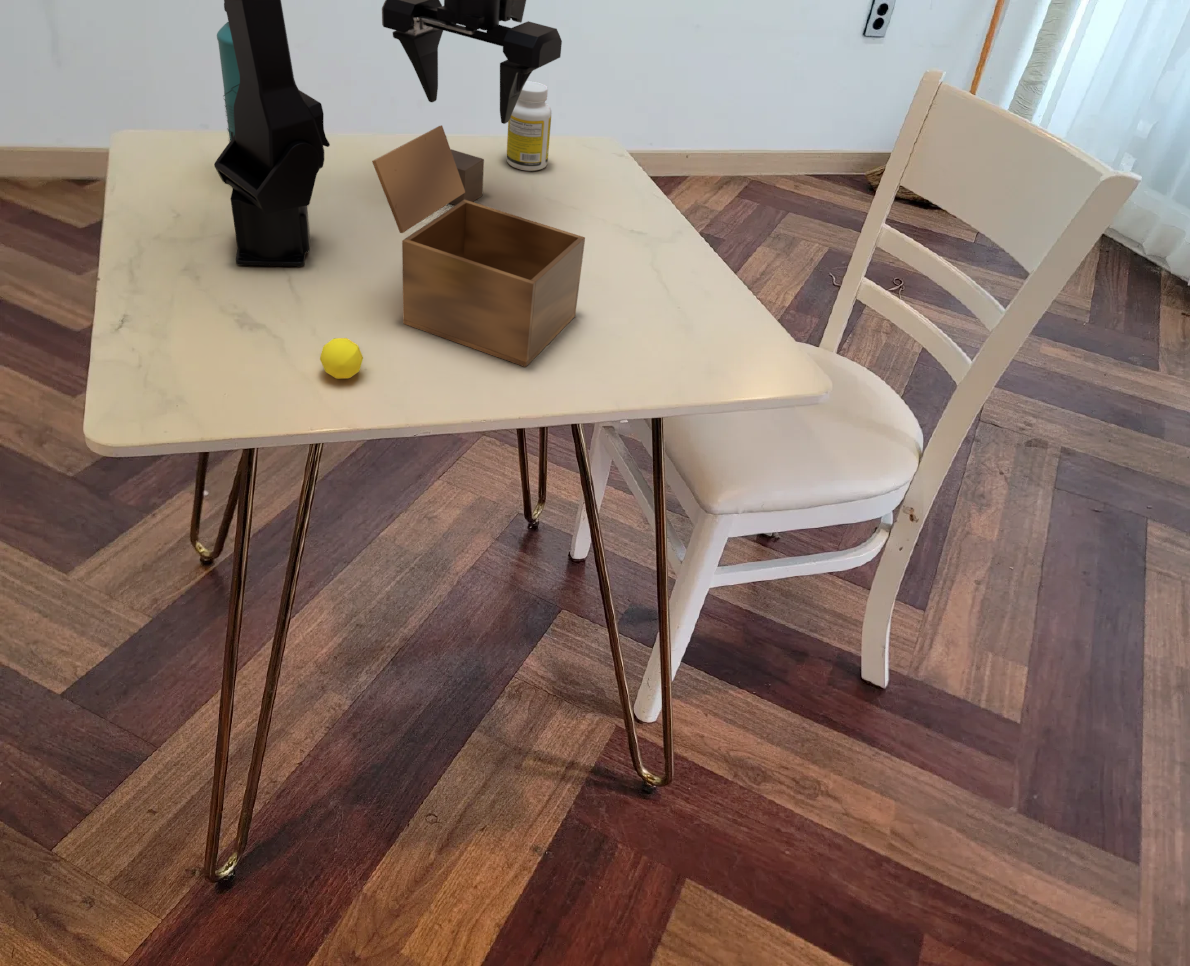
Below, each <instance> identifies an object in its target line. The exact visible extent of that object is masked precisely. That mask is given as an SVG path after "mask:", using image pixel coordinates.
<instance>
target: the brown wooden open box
mask: <svg viewBox="0 0 1190 966" xmlns="http://www.w3.org/2000/svg"><path fill="white" fill-rule="evenodd" d="M585 243H586V237H585V236H583V235H580V234H575V233H573V232H570V231H566V230H564V229H560V228H557V227H553V226H550V225H547V224H544V223H540V222H537V221H535V220H531V219H528V218H524V217H522V216H519V215H515V214H512V213H509V212H506V211H503V210H499V209H497V208H492V207H490V206H487V205H483V204H481V203H477V202H475V201H473V202H471V201H468V200H463V201H461V202H460V203H458V204H457V205H453V206H452V207H451V208H449V209H447V210H446V211H445V212H443V213H442V214H440V215H439V216H437V217H436V218H434V219H433V220H431V221H429V222H428V223H426V224H425V225H423V226H422V227H420V228H419V229H417V230H416V231H414V232H413V233H412V234H410V235H408V236H407V237H405V238H404V239H402V240H401V245H402V246H401V252H402V253H401V257H402V260H401V261H402V323H403V325H406V326H409V327H413V328H414V329H417V330H421V331H423V332H426V333H428V334H432V335H434V336H437V337H440V338H443V339H446V340H449V341H451V342H454V343H457V344H459V345H462V346H465V347H468V348H471V349H474V350H476V351H479V352H482V353H485V354H488V355H491V356H494V357H496V358H499V359H502V360H504V361H508V362H510V363H513V364H515V365H519V366H521V367H525V368H527V367H528V366H529V365H530V364H531V362H533V360H535V358H536V357H538V356H539V354H540V353H541V352H542V351H543V350H544V349H545V348H546V347H547V346H548V345H549V344H550V343H551V342H552V341H553V340H554V339H555V337H557V336H558V335H559V334H560V332H561V331H563V329H564V328H565V327H566V326H567V325H568V324H569V323H570V322H571V321H572V320H573V319H574V318H575V317H576V314H577V305H578V298H579V291H580V282H581V276H582V266H583V258H584V251H585V250H584V249H585Z"/></svg>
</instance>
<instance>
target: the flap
mask: <svg viewBox="0 0 1190 966" xmlns="http://www.w3.org/2000/svg"><path fill="white" fill-rule="evenodd" d="M371 163H372V165H373V167H374V170H375V172H376V175H377V178H378V180H379V182H380V186H381V188H382V191H383V193H384V196H385V198H386V201H387V203H388V206H389V209H390V211H391V213H392V216H393V219H394V221H395V224H396V226H397V229H398V231H399V234H404V233H405V232H407V231H408V230H410V229H411V228H413V227H414V226H416V225H418V224H420V223H421V222H422V221H423V220H425V219H427V218H428V217H430V216H431V215H433V214H434V213H436V212H438V211H439V210H441V209H442V208H444V207H446V206H447V205H449V204H450V202H451V201H453V200H454V199H456V198H457V197H459V196H461V195H462V194H464V193H465V190H464V187H463V184H462V181H461V178H460V175H459V172H458V170H457V167H456V164H455V161H454V158H453V155H452V152H451V147H450V144H449V141H448V138H447V135H446V133H445V129H444V127H443V125H438V126H436V127H435V128H433V129H430V130H429V131H427V132H425V133H423V134H421V135H419V136H417V137H416V138H413V139H411V140H409V141H408V142H406V143H404V144H402V145H400V146H398V147H396V148H394V149H392V150H390V151H388V152H386V153H384V154H383V155H380V156H379V157H377V158H375V159H373V160H372V161H371Z"/></svg>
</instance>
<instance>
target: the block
mask: <svg viewBox="0 0 1190 966" xmlns="http://www.w3.org/2000/svg"><path fill="white" fill-rule="evenodd" d="M450 149H451V148H450ZM451 152H452V155H453V158H454V161H455V164H456V167H457V170H458V172H459V175H460V178H461V181H462V184H463V187H464V190H465V193H464V194H462V195H461V196H459V197H457V198H456V199H454V200H453V201H451V202H450V203H449V204H450V205H453V206H455V205H457V204H458V203H460V202H461V201H463V200H468V201H471V202H475V201H477V200H478V199H480V198H481V197H482V196H483V192H484V189H483V188H484V172H485V171H484V169H485V159H484V158H482V157H479V156H475V155H472V154H468V153H465V152H463V151H458V150H455V149H451Z"/></svg>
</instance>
